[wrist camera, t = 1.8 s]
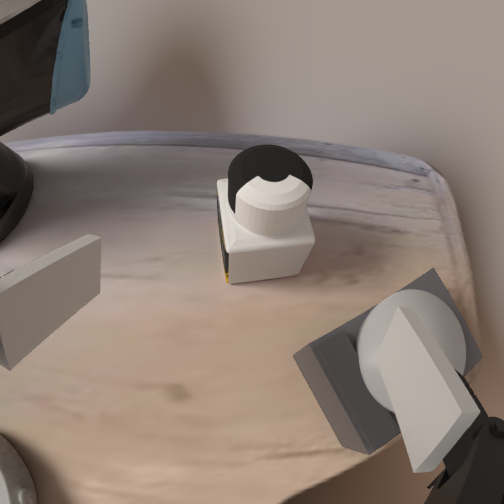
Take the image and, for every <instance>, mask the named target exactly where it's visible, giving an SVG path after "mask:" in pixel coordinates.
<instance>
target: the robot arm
mask: <svg viewBox="0 0 504 504" xmlns="http://www.w3.org/2000/svg"><path fill="white" fill-rule="evenodd" d="M89 86H90V51H89V30H88V13H87V4H86V0H0V136H2V135H4V134H5V133H8V132H10V131H12V130H14V129H16V128H18V127H20V126H22V125H24V124H26V123H28V122H31V121H33V120H35V119H37V118H39V117H42V116H44V115H46V114H49V113H50V114H54V113H55V112H56V110H58V109H61V108H63V107H65V106H67V105H69V104H72V103H74V102H77V101H78V100H80V99H81V98H83V97H84V96H85V95H86V93H87V91H88V89H89ZM32 188H33V177H32V173H31V171H30V169H29V167H28V166H27V164H26V163H25V161H24V160H23V158H22V157H21V156H20V155H18V154H17V153H15V152H14V151H12V150H11V149H10V148H8V147H7V146H5V145H4V144H2V143H1V142H0V242H1V241H2V240H3V239H4V238H5V237H6V236H7V235H8V234H9V233H10V232H11V231H12V229H13V228H14V227H15V226H16V224H17V223H18V221H19V220H20V218H21V217H22V215H23V213H24V211H25V209H26V207H27V205H28V202H29V200H30V197H31V193H32ZM101 238H102V237H98V236H94V235H91V234H87V235H84V236H82V237H80V238H78V239H76V240H74V241H72V242H69V243H67V244H65V245H63V246H61V247H59V248H57V249H55V250H53V251H51V252H49V253H47V254H45V255H43V256H41V257H39V258H37V259H35V260H33V261H31V262H29V263H27V264H25V265H23V266H22V267H20V268H18V269H16V270H13V271H11V272H9V273H7V274H5V275H4V276H3V277H0V365H2V366H3V367H5V368H7V369H8V370H11V369H12V368H14V367H15V366H16V365H17V364H18V363H19V362H20V361H21V360H22V359H23V358H24V357H26V356H27V355H28V354H29V353H30V352H31V351H32V350H33V349H35V348H36V347H37V346H38V345H39V344H40V343H41V342H42V341H44V340H45V339H46V338H47V337H48V336H49V335H50V334H52V333H53V332H54V331H55V330H56V329H57V328H59V327H60V326H61V325H62V324H63V323H64V322H66V321H67V320H68V319H69V318H70V317H71V316H73V315H74V314H75V313H76V312H77V311H79V310H80V309H81V308H82V307H83V306H85V305H86V304H87V303H88V302H90V301H91V300H92V299H93V298H94V297H96V296H97V295H98V294H99V293H100V262H101ZM376 361H377V364H378V366H379V369H380V372H381V375H382V377H383V380H384V383H385V386H386V388H387V391H388V394H389V397H390V400H391V403H392V406H393V409H394V412H395V415H396V418H397V421H398V424H399V427H400V430H401V433H402V436H403V439H404V443H405V446H406V449H407V452H408V455H409V459H410V462H411V465H412V469H413V472H414V473H418V472H430V471H433V470H434V469H435V468H436V467H437V466H438V465H439V463H440V462H441V461H442V460H443V461H444V464H445V467H446V468H445V469H444V470H443V471H442V472H441V473H440V474H439V475H438V476H437V477H436V478H435V480H434V481H433V482H432V483H431V484H430V485H429V486H428V487H427V488H429V489H430V488H431V487H432V486H433V485H434V487H433V488H432V490H431V492H430V494H429V496H428V498H427V500H426V501H425V503H424V504H504V421H503V420H502V419H500V418H497V417H488V415H487V413H486V412H485V410H484V408H483V407H482V405H481V403H480V402H479V400H478V399H477V397H476V395H474V392H473V390H472V389H471V388H469V384H468V383H467V381H466V379H465V378H464V377H463V376H462V375H461V374H460V373H459V372H458V371H457V370H456V369H454V368H453V366H452V365H451V363H450V362H449V360H448V359H447V357H446V356H445V354H444V353H443V351H442V350H441V348H440V347H439V345H438V344H437V342H436V341H435V339H434V338H433V337H432V335H431V334H430V332H429V331H428V329H427V328H426V327H425V325H424V324H423V322H422V321H421V319H420V318H419V317H418V315H417V314H416V313H415V311H414V310H413V309H412V308H407V307H402V306H398V307H397V309H396V312H395V314H394V317H393V319H392V322H391V324H390V326H389V329H388V331H387V333H386V336H385V338H384V340H383V342H382V345H381V347H380V349H379V351H378V353H377V356H376Z"/></svg>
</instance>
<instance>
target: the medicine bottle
mask: <svg viewBox="0 0 504 504" xmlns="http://www.w3.org/2000/svg"><path fill="white" fill-rule="evenodd" d="M312 185H313V179H312V174H311V171H310V169H309V167H308V166H307V164H306V163H305V162H304V161H303V159H302V158H300V157H299V156H298V155H297V154H296V153H294V152H292V151H291V150H288V149H286V148H283V147H280V146H276V145H258V146H254V147H251V148H249V149H246V150H244V151H243V152H241V153H239V154H238V155H237V156H236V157H235V158H234V159H233V161H232V162H231V164H230V167H229V170H228V178H227V179H219V180H218V181H217V209H218V227H219V234H220V242H221V249H222V256H223V263H224V270H225V277H226V282H227V283H228V284H234V283H242V282H250V281H257V280H265V279H273V278H280V277H287V276H295V275H298V274H299V272H300V270H301V269H302V267H303V265H304V263H305V261H306V259H307V257H308V255H309V253H310V251H311V249H312V247H313V245H314V243H315V235H314V232H313V228H312V225H311V222H310V218H309V215H308V211H307V208H306V203H307V200H308V198H309V195H310V192H311V189H312Z"/></svg>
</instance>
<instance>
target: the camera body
mask: <svg viewBox="0 0 504 504" xmlns="http://www.w3.org/2000/svg"><path fill="white" fill-rule="evenodd" d="M398 306H402V307H407V308H412V309H413V310H414V311H415V313H416V314H417V315H418V317H419V318H420V319H421V321H422V322H423V324H424V325H425V327H426V328H427V329H428V331H429V332H430V334H431V335H432V337H433V338H434V339H435V341H436V342H437V344H438V345H439V347H440V348H441V350H442V351H443V353H444V354H445V356H446V357H447V359H448V360H449V362H450V363H451V365H452V366H453V368H454V369H456V370H457V371H458V372H459V373H460V374H461V375H462V376H463V377H464V376H465V375H466V374H467V373H468V372H469V371H470V370H471V369H472V368H473V367H474V366H475V365H476V364H477V363H478V362H479V361H480V359H481V358H482V355H481V353H480V351H479V349H478V347H477V345H476V343H475V341H474V339H473V337H472V335H471V333H470V331H469V329H468V327H467V325H466V323H465V321H464V319H463V318H462V316H461V314H460V312H459V310H458V308H457V307H456V305H455V303H454V301H453V300H452V298H451V296H450V294H449V293H448V291H447V289H446V287H445V286H444V284H443V282H442V281H441V279H440V277H439V276H438V274H437V273H436V271H435V269H434V268H432V269H431V270H429V271H428V272H426V273H425V274H423V275H422V276H421V277H419V278H418V279H416V280H415V281H413V282H412V283H410V284H408V285H407V286H405V287H404V288H402V289H401V290H399V291H398V292H396V293H394V294H392V295H390V296H388V297H387V298H386V299H384V300H383V301H382V302H380V303H379V304H377V305H375V306H374V307H372V308H371V309H369V310H367V311H366V312H364V313H362V314H361V315H359V316H357V317H356V318H354V319H352V320H350V321H349V322H347V323H345V324H343V325H342V326H340V327H338V328H336V329H335V330H333V331H331V332H329V333H328V334H326V335H324V336H322V337H320V338H319V339H317V340H315V341H313V342H311V343H309V344H308V345H306V346H305V347H304V348H302V349H301V350H300V351H298V352H297V353H296V354H294V355H293V357H294V359H295V361H296V363H297V365H298V366H299V368H300V370H301V372H302V374H303V376H304V378H305V379H306V381H307V383H308V385H309V387H310V389H311V390H312V392H313V394H314V396H315V398H316V400H317V401H318V403H319V405H320V407H321V409H322V411H323V412H324V414H325V416H326V418H327V420H328V422H329V423H330V425H331V427H332V429H333V431H334V432H335V434H336V436H337V438H338V440H339V441H340V443H341V445H342V447H345V448H348V449H351V450H354V451H358V452H361V453H364V454H367V455H370V454H371V453H373V452H374V451H376V450H377V449H379V448H380V447H381V446H383V445H384V444H386V443H387V442H388V441H390V440H391V439H392V438H394V437H395V436H396V435H398V434H399V433H400V432H401V430H400V427H399V424H398V421H397V418H396V415H395V412H394V409H393V406H392V403H391V400H390V397H389V394H388V391H387V388H386V386H385V383H384V380H383V377H382V375H381V372H380V369H379V366H378V364H377V361H376V356H377V353H378V351H379V349H380V347H381V345H382V342H383V340H384V338H385V336H386V333H387V331H388V329H389V326H390V324H391V322H392V319H393V317H394V314H395V312H396V309H397V307H398Z"/></svg>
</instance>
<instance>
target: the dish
mask: <svg viewBox="0 0 504 504" xmlns="http://www.w3.org/2000/svg"><path fill="white" fill-rule="evenodd" d="M0 504H37V496H36V490H35V486H34V483H33V480H32V478H31V475H30V473H29V471H28V469H27V467H26V465H25V463H24V462H23V460H22V459H21V457H20V456H19V454H18V453H17V451H16V450H15V449H14V447H13V446H12V445H11V444H10V443H9V442H8V441H7V440H6V439H5V438H4V437H3V436H2V435H0Z"/></svg>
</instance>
